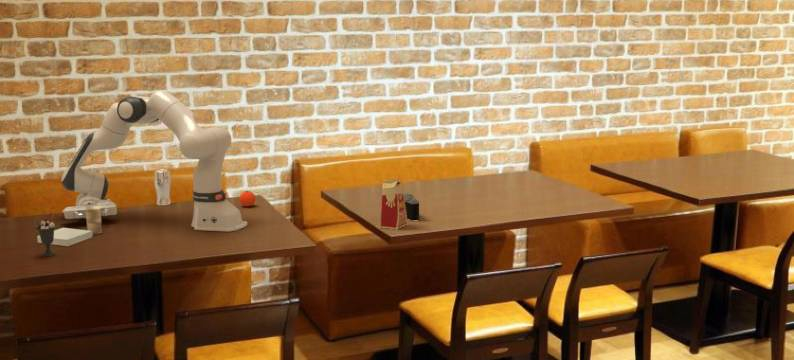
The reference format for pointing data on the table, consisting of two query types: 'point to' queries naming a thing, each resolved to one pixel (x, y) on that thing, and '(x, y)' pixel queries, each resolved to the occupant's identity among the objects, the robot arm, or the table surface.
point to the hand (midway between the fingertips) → (92, 215)
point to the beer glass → (162, 186)
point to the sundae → (47, 234)
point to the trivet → (69, 236)
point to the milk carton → (393, 205)
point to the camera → (411, 206)
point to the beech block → (94, 219)
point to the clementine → (247, 198)
